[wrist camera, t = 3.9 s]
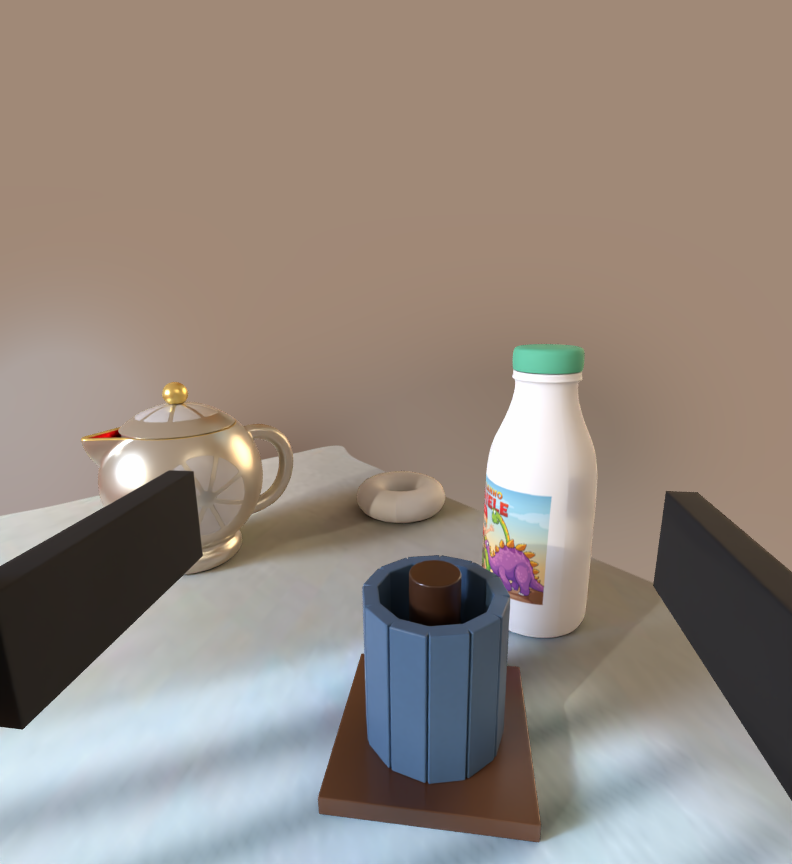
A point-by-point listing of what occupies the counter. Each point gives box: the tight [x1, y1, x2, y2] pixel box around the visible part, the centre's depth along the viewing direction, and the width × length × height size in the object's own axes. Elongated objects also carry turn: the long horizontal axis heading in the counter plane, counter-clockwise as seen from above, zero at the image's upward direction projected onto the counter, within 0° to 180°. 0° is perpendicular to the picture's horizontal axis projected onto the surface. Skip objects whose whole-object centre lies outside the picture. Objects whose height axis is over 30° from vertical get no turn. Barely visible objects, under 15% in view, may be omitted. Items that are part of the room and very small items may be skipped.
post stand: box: [318, 560, 541, 842], centre depth 27 cm, size 10×10×10 cm
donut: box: [357, 471, 445, 523], centre depth 58 cm, size 10×4×10 cm
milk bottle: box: [482, 344, 597, 638], centre depth 37 cm, size 8×8×20 cm
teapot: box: [81, 382, 293, 574], centre depth 47 cm, size 18×14×16 cm
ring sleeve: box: [362, 555, 510, 784], centre depth 27 cm, size 7×7×8 cm
